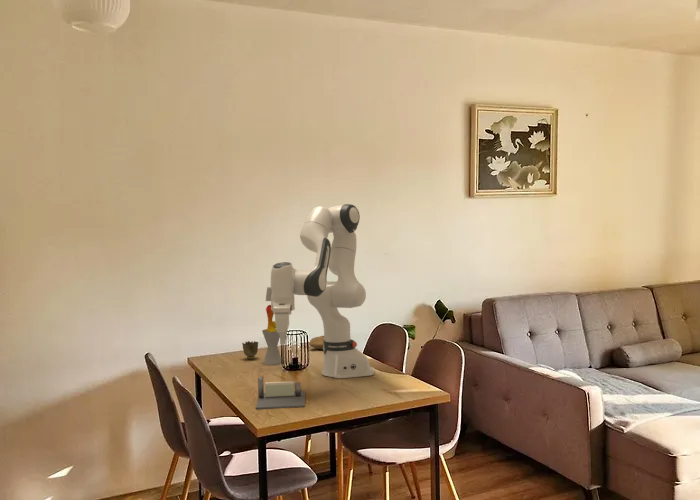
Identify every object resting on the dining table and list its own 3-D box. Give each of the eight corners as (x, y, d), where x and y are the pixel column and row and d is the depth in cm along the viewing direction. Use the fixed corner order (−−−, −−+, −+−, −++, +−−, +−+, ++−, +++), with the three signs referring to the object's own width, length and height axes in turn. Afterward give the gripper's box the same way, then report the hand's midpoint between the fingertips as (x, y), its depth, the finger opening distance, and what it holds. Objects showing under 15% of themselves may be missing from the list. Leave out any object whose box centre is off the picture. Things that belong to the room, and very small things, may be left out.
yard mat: (304, 392, 236) (304, 391, 236) (304, 406, 218) (304, 405, 218) (259, 394, 235) (259, 393, 235) (255, 409, 217) (255, 407, 217)
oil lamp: (305, 349, 313) (304, 333, 313) (329, 345, 322) (329, 329, 322) (317, 353, 304) (317, 336, 304) (342, 348, 313) (341, 332, 313)
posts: (301, 396, 231) (300, 375, 230) (301, 398, 229) (300, 376, 228) (258, 398, 230) (258, 377, 229) (258, 400, 228) (257, 378, 227)
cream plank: (265, 396, 228) (265, 383, 228) (265, 395, 230) (265, 382, 229) (294, 395, 229) (293, 382, 229) (294, 394, 230) (294, 381, 230)
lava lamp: (274, 365, 281) (271, 288, 279) (259, 363, 285) (256, 287, 283) (286, 361, 288) (284, 286, 286) (271, 359, 293) (268, 285, 291)
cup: (250, 356, 300) (250, 340, 300) (262, 358, 296) (261, 341, 295) (239, 359, 294) (239, 343, 294) (250, 361, 290) (250, 344, 289)
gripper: (276, 302, 245) (276, 337, 246) (272, 308, 225) (273, 346, 225) (292, 302, 246) (293, 337, 246) (290, 308, 225) (290, 346, 226)
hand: (283, 341), depth 236 cm, fingers open, 8 cm apart
